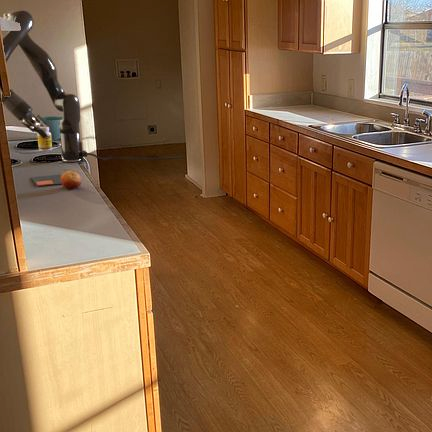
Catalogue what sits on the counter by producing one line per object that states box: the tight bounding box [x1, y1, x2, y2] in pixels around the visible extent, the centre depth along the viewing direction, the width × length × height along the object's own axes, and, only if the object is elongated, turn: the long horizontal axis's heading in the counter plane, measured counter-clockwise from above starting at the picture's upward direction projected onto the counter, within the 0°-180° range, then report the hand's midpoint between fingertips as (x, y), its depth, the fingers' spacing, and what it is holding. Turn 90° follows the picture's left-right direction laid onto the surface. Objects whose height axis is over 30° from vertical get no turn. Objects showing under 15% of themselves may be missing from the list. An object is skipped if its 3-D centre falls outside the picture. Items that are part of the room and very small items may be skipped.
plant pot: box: [40, 115, 63, 141], centre depth 336 cm, size 18×18×12 cm
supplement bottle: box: [37, 127, 53, 152], centre depth 244 cm, size 5×5×10 cm
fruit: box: [61, 170, 82, 190], centre depth 236 cm, size 8×8×8 cm
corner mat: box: [31, 174, 62, 188], centre depth 247 cm, size 16×16×1 cm
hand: (48, 135), depth 244 cm, fingers closed on supplement bottle, 5 cm apart
